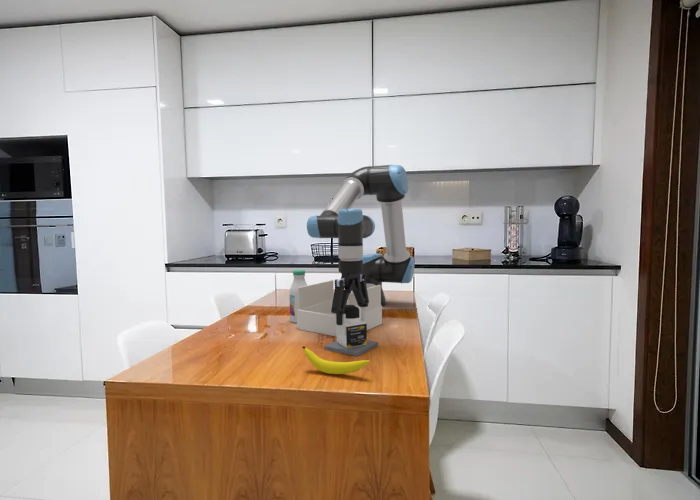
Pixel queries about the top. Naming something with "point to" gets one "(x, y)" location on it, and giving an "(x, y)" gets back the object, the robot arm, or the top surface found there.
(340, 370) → the banana
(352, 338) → the medicine bottle
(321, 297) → the carton
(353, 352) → the mat
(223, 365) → the top surface
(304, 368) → the top surface
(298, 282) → the milk bottle
